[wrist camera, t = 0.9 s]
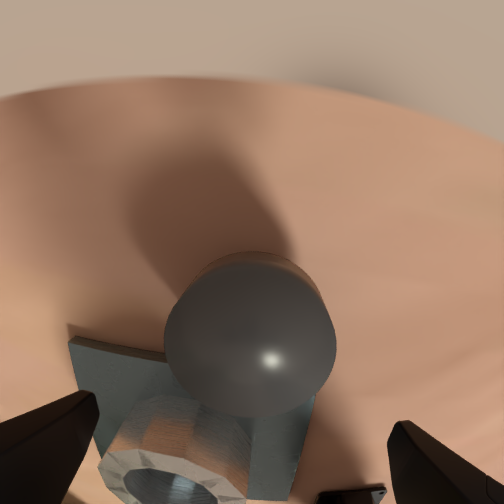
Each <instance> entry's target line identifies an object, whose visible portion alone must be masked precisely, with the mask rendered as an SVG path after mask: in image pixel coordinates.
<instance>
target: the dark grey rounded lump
mask: <svg viewBox="0 0 504 504" xmlns="http://www.w3.org/2000/svg"><path fill="white" fill-rule="evenodd" d="M164 348H165V355H166V358H167V362H168V365H169V367H170V369H171V371H172V373H173V375H174V376H175V378H176V380H177V381H178V382H179V383H180V385H181V386H182V387H183V388H184V389H185V390H186V391H187V392H188V393H189V394H190V395H191V396H192V397H194V398H195V399H196V400H198V401H199V402H201V403H202V404H204V405H206V406H208V407H210V408H212V409H214V410H216V411H219V412H222V413H225V414H229V415H233V416H239V417H249V418H258V417H268V416H274V415H278V414H281V413H285V412H287V411H290V410H292V409H294V408H296V407H298V406H300V405H302V404H303V403H305V402H306V401H307V400H309V399H310V398H311V397H312V396H314V395H315V394H316V393H317V392H318V391H319V390H320V388H321V387H322V386H323V385H324V383H325V382H326V380H327V379H328V377H329V375H330V373H331V371H332V368H333V365H334V362H335V357H336V336H335V330H334V327H333V324H332V321H331V319H330V316H329V314H328V311H327V309H326V306H325V304H324V302H323V299H322V297H321V294H320V292H319V290H318V288H317V286H316V285H315V283H314V282H313V281H312V279H311V278H310V277H309V276H308V275H307V274H306V273H305V272H304V271H303V270H302V269H301V268H300V267H298V266H297V265H296V264H294V263H292V262H291V261H289V260H287V259H285V258H282V257H280V256H277V255H273V254H270V253H264V252H240V253H235V254H231V255H227V256H225V257H222V258H220V259H218V260H216V261H214V262H213V263H211V264H210V265H208V266H207V267H206V268H204V269H203V270H202V271H201V272H200V273H199V274H198V275H197V276H196V278H195V279H194V280H193V282H192V283H191V284H190V286H189V287H188V288H187V290H186V291H185V292H184V294H183V295H182V296H181V298H180V299H179V300H178V302H177V303H176V304H175V306H174V307H173V309H172V311H171V313H170V315H169V317H168V320H167V323H166V327H165V333H164Z"/></svg>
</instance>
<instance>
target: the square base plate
mask: <svg viewBox="0 0 504 504" xmlns="http://www.w3.org/2000/svg"><path fill="white" fill-rule="evenodd" d="M68 346H69V351H70V355H71V360H72V364H73V369H74V373H75V377H76V381H77V385H78V388H79V390H87V391H90V392H93V393H94V394H95V396H96V400H97V404H98V407H99V411H100V417H99V420H98V423H97V426H96V428H95V431H94V433H93V437H94V440H95V443H96V446H97V448H98V451H99V454H100V456H101V459H102V460H101V461H100V463H99V465H98V467H97V468H98V469H99V472H100V474H101V476H102V478H103V481H104V483H105V485H106V487H107V488H108V489H109V490H110V491H111V492H112V493H114V494H115V495H116V496H117V497H118V498H119V499H121V500H122V501H123V502H124V503H125V504H246V499H251V500H268V501H287V500H288V496H289V493H290V490H291V487H292V483H293V480H294V477H295V473H296V470H297V466H298V463H299V459H300V455H301V452H302V448H303V444H304V441H305V437H306V433H307V429H308V425H309V421H310V417H311V413H312V408H313V404H314V400H315V395H316V394H315V395H314V396H312V397H311V398H310V399H309V400H307V401H306V402H305V403H303V404H302V405H300V406H298V407H296V408H294V409H292V410H290V411H287V412H285V413H281V414H278V415H274V416H268V417H258V418H249V417H239V416H233V415H229V414H225V413H222V412H219V411H216V410H214V409H212V408H210V407H208V406H206V405H204V404H202V403H201V402H199V401H198V400H196V399H195V398H194V397H192V396H191V395H190V394H189V393H188V392H187V391H186V390H185V389H184V388H183V387H182V386H181V385H180V383H179V382H178V381H177V380H176V378H175V376H174V375H173V373H172V371H171V369H170V367H169V365H168V362H167V358H166V355H165V354H164V353H158V352H152V351H146V350H140V349H135V348H129V347H124V346H119V345H114V344H109V343H104V342H100V341H95V340H91V339H86V338H82V337H78V336H74V337H73V338H72V339H71V340H70V341H69V342H68Z"/></svg>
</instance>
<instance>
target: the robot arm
mask: <svg viewBox="0 0 504 504" xmlns="http://www.w3.org/2000/svg"><path fill="white" fill-rule="evenodd" d="M99 417H100V411H99V407H98V404H97V400H96V396H95V394H94V393H93V392H90V391H87V390H79V391H77V392H75V393H72V394H70V395H68V396H65V397H63V398H61V399H58V400H56V401H54V402H51V403H49V404H46V405H44V406H42V407H39V408H37V409H34V410H32V411H29V412H27V413H24V414H22V415H19V416H17V417H14V418H12V419H9V420H7V421H4V422H1V423H0V504H61V503H62V501H63V499H64V497H65V495H66V493H67V491H68V489H69V487H70V485H71V483H72V481H73V479H74V477H75V475H76V473H77V471H78V469H79V467H80V465H81V463H82V461H83V459H84V457H85V455H86V452H87V450H88V447H89V444H90V441H91V439H92V436H93V433H94V431H95V428H96V426H97V423H98V420H99ZM387 449H388V456H389V464H390V472H391V480H392V487H393V491H394V496H395V500H396V504H504V485H502V484H501V483H499V482H497V481H496V480H494V479H493V478H491V477H490V476H488V475H486V474H485V473H484V472H482V471H481V470H479V469H478V468H476V467H475V466H473V465H472V464H471V463H469V462H468V461H466V460H465V459H463V458H462V457H460V456H459V455H458V454H456V453H455V452H453V451H452V450H450V449H449V448H448V447H446V446H445V445H443V444H442V443H441V442H439V441H438V440H436V439H435V438H434V437H432V436H431V435H429V434H428V433H427V432H425V431H424V430H422V429H421V428H420V427H418V426H417V425H416V424H414V423H413V422H411V421H410V420H404V421H398V422H396V423H395V425H394V427H393V430H392V432H391V434H390V436H389V438H388V441H387ZM386 493H387V489H386V487H380V488H372V489H363V490H353V491H341V492H324V493H320V494H318V496H317V498H316V501H315V503H314V504H379V503H380V501H381V500H382V499H383V497H384V496H385V494H386Z"/></svg>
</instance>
